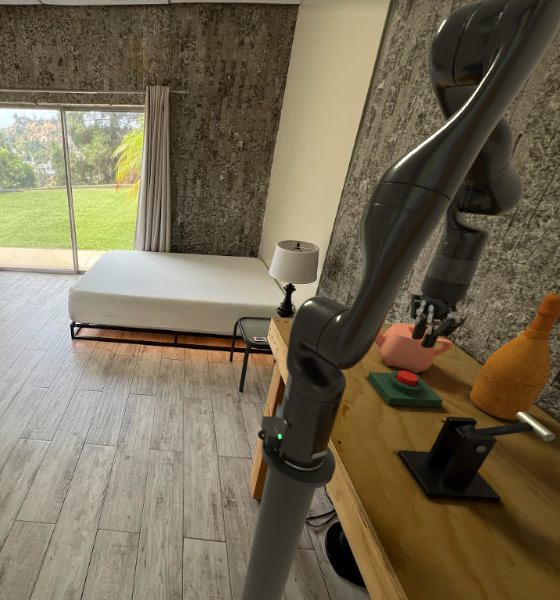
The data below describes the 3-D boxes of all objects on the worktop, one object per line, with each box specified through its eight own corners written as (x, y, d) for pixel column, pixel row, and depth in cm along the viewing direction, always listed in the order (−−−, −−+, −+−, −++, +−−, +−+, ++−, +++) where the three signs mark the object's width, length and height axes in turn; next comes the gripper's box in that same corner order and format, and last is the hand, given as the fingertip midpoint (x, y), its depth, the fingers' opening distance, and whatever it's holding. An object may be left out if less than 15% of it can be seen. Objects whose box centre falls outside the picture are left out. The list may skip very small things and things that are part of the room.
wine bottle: (534, 418, 73) (612, 302, 61) (503, 426, 71) (576, 308, 58) (486, 390, 82) (545, 283, 69) (456, 397, 80) (512, 288, 67)
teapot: (360, 340, 104) (370, 307, 99) (437, 359, 94) (453, 324, 89) (357, 361, 94) (368, 326, 88) (444, 385, 84) (462, 346, 79)
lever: (525, 419, 56) (526, 409, 56) (554, 442, 52) (556, 431, 51) (447, 429, 59) (448, 420, 58) (468, 453, 54) (469, 443, 54)
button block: (387, 404, 78) (392, 392, 76) (367, 378, 87) (371, 366, 85) (439, 407, 77) (446, 394, 75) (413, 380, 86) (418, 368, 84)
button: (402, 385, 79) (404, 380, 78) (392, 375, 82) (395, 370, 81) (419, 386, 78) (421, 381, 78) (409, 376, 82) (411, 370, 81)
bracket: (459, 457, 64) (486, 410, 59) (498, 502, 56) (534, 452, 51) (397, 454, 65) (418, 407, 60) (426, 497, 57) (454, 447, 52)
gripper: (409, 264, 75) (388, 327, 82) (454, 287, 62) (424, 359, 69) (443, 264, 74) (418, 328, 81) (496, 288, 61) (460, 361, 69)
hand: (421, 342), depth 75 cm, fingers open, 3 cm apart
